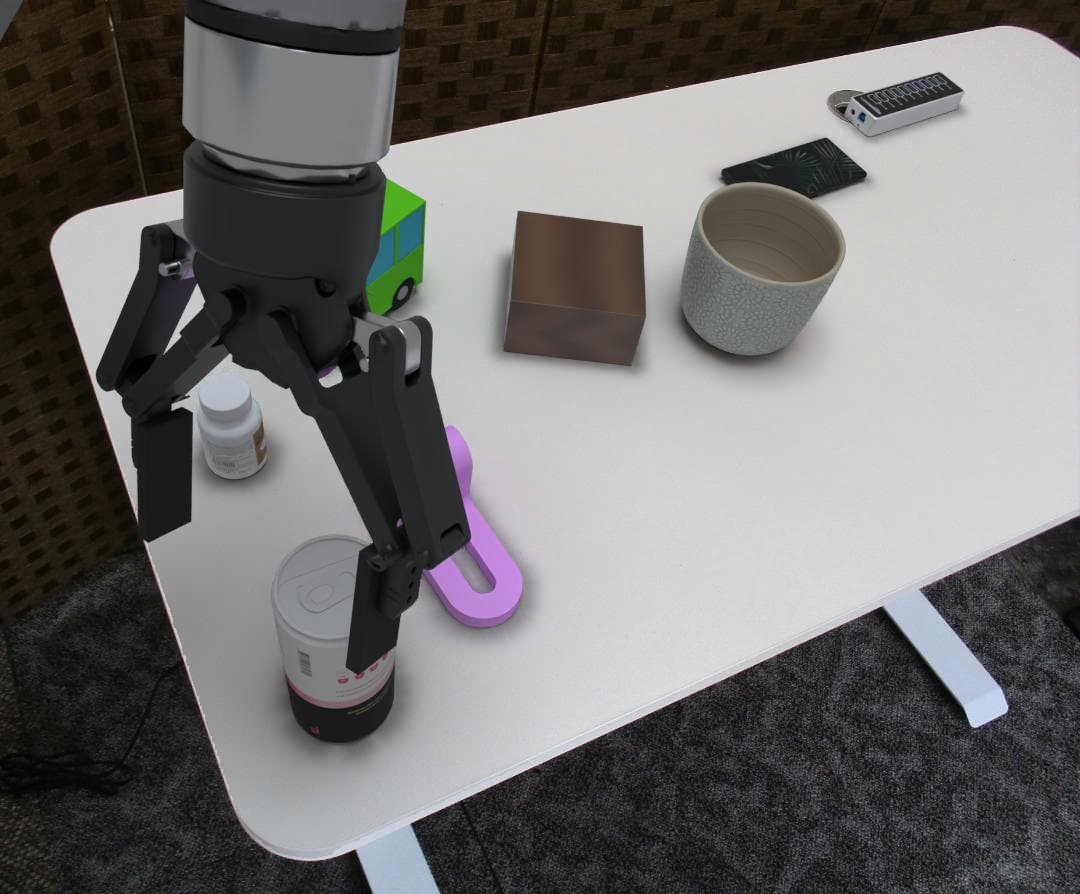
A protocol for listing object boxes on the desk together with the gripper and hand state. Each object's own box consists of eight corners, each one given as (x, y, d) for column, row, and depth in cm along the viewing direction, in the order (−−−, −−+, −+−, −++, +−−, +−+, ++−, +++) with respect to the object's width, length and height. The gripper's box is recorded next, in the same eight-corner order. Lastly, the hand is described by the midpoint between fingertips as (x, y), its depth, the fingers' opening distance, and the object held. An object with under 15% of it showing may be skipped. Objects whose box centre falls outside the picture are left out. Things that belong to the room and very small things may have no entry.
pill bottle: (277, 467, 74) (267, 402, 68) (219, 489, 72) (204, 424, 66) (254, 425, 76) (242, 358, 70) (197, 446, 74) (181, 379, 68)
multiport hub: (957, 109, 115) (967, 91, 113) (868, 137, 109) (876, 119, 108) (931, 87, 117) (940, 70, 115) (841, 114, 111) (849, 96, 110)
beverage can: (272, 682, 64) (247, 567, 52) (361, 632, 67) (356, 512, 55) (322, 766, 61) (308, 665, 49) (413, 710, 64) (420, 601, 52)
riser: (503, 351, 84) (510, 300, 79) (510, 261, 90) (517, 210, 86) (631, 365, 85) (646, 316, 80) (629, 276, 91) (643, 225, 87)
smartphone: (869, 173, 104) (762, 209, 98) (865, 181, 105) (759, 217, 98) (826, 135, 107) (720, 167, 101) (823, 143, 108) (717, 176, 102)
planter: (826, 328, 90) (874, 237, 82) (751, 399, 84) (793, 308, 75) (719, 256, 94) (753, 162, 86) (639, 318, 88) (667, 223, 80)
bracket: (377, 501, 73) (376, 445, 68) (442, 471, 76) (447, 415, 70) (467, 641, 68) (475, 592, 62) (535, 604, 70) (548, 554, 64)
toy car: (233, 323, 82) (217, 230, 74) (341, 242, 89) (338, 149, 81) (327, 385, 79) (321, 295, 71) (431, 297, 87) (436, 206, 79)
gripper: (619, 237, 36) (518, 673, 46) (145, 64, 45) (149, 458, 56) (506, 280, 30) (419, 769, 40) (-12, 71, 39) (26, 510, 50)
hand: (262, 590), depth 48 cm, fingers open, 13 cm apart
